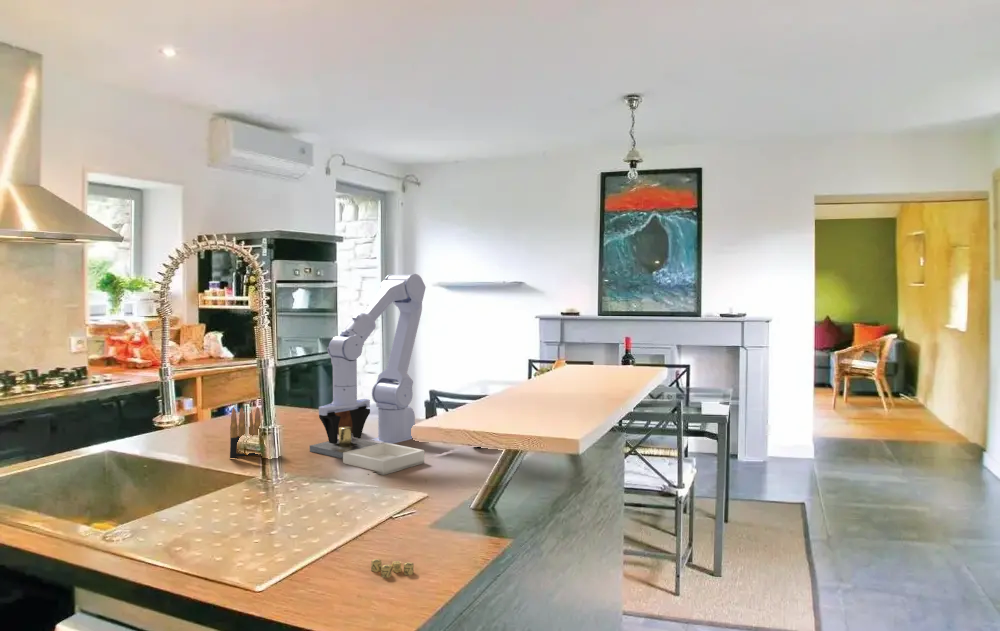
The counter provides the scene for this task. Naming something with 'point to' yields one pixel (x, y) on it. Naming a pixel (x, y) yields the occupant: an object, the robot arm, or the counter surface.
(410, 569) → the dice set
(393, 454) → the tray
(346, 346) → the robot arm
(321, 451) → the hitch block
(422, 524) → the counter surface
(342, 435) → the gold upright block
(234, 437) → the ammunition clip
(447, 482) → the counter surface
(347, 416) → the wooden figurine
